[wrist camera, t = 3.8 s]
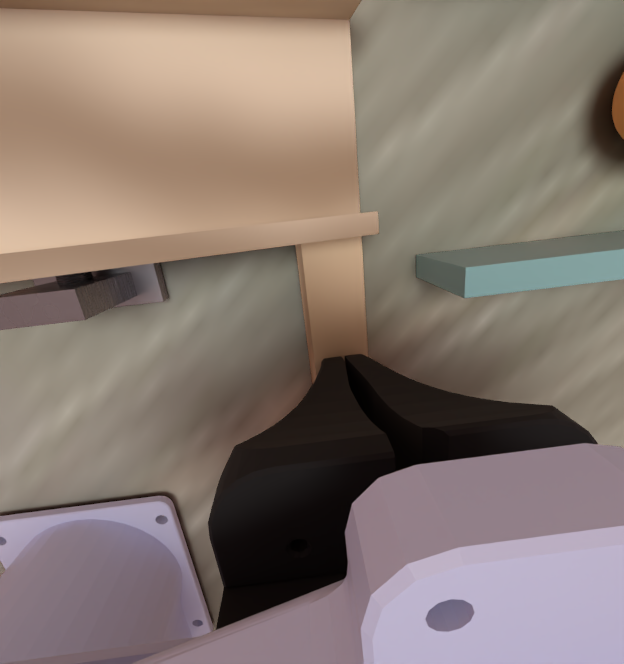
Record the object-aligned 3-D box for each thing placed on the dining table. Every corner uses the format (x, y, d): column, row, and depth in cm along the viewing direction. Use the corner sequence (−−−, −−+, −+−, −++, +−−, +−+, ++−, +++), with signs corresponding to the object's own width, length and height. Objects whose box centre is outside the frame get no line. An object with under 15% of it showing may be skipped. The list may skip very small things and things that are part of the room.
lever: (364, 430, 14) (399, 477, 11) (-196, 586, 9) (-349, 719, 7) (337, 9, 9) (385, -80, 6) (-763, -34, 5) (-1835, -324, 2)
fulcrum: (168, 298, 12) (120, 326, 8) (56, 311, 11) (-36, 346, 8) (83, -30, 9) (-43, -182, 5) (-68, -14, 9) (-288, -159, 5)
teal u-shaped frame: (676, 245, 12) (823, 254, 9) (416, 276, 12) (464, 298, 8) (767, -113, 9) (1055, -318, 5) (415, -78, 9) (491, -266, 5)
